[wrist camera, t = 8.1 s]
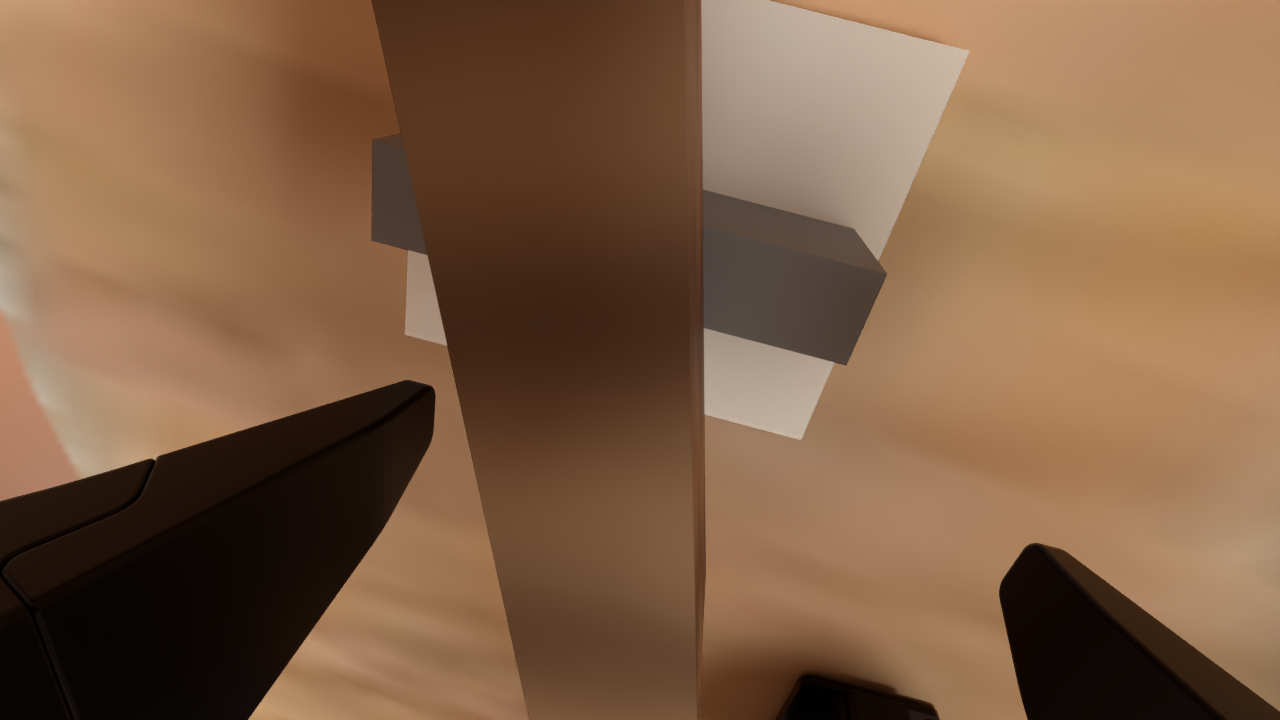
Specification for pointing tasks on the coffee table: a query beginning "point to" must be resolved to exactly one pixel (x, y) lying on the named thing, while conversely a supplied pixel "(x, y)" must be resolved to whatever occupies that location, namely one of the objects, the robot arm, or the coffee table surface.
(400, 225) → the fulcrum
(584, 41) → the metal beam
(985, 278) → the coffee table surface
